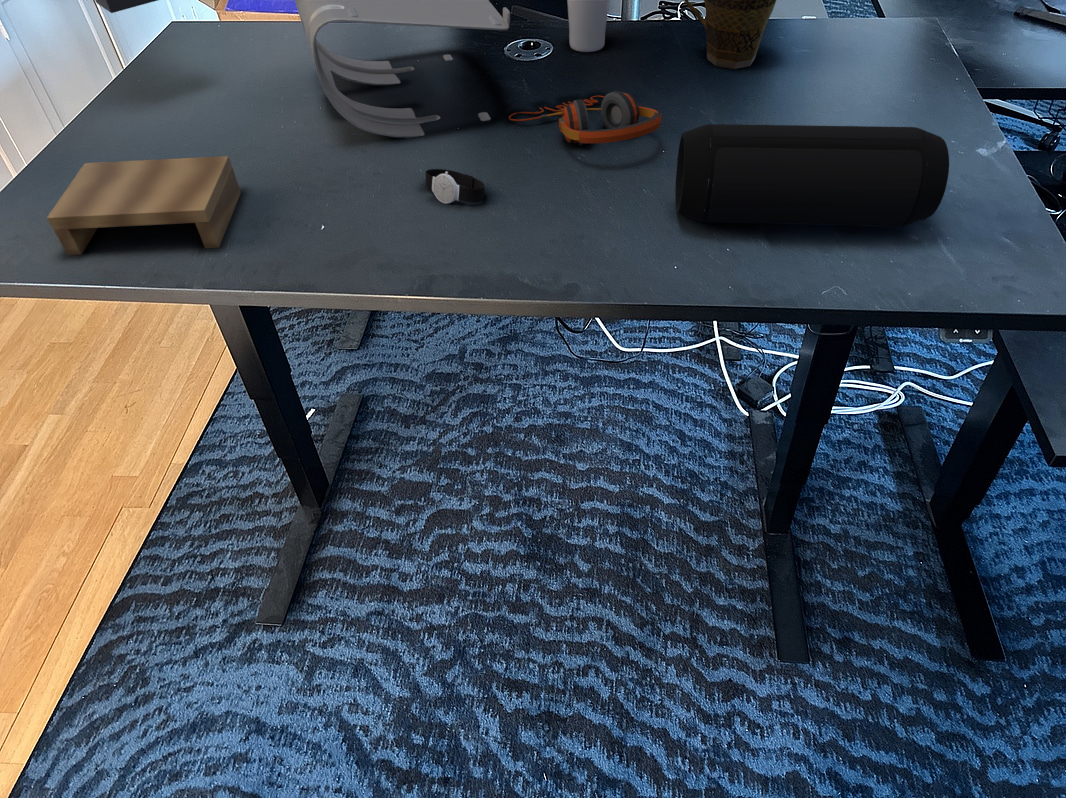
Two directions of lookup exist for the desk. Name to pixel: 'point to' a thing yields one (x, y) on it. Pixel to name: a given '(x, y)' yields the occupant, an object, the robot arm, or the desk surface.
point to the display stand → (147, 198)
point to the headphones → (616, 116)
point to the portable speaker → (810, 174)
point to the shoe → (121, 4)
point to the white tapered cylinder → (587, 24)
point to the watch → (454, 186)
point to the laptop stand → (396, 4)
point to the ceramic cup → (734, 30)
